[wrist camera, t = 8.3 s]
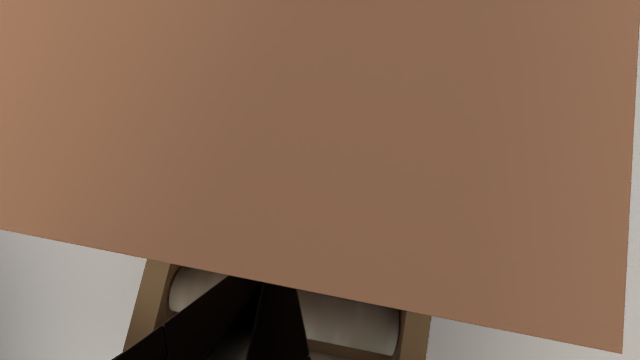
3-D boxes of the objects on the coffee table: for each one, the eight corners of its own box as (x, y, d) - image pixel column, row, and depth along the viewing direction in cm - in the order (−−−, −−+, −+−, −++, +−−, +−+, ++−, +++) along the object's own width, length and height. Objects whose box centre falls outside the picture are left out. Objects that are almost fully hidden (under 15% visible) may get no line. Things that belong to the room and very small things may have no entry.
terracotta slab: (398, 272, 16) (621, 354, 4) (191, 231, 16) (-174, 194, 4) (419, 136, 17) (647, -126, 5) (223, 101, 17) (-1, -217, 5)
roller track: (400, 416, 17) (441, 507, 11) (144, 361, 17) (52, 420, 12) (443, 115, 19) (495, 58, 13) (217, 75, 20) (171, 4, 14)
